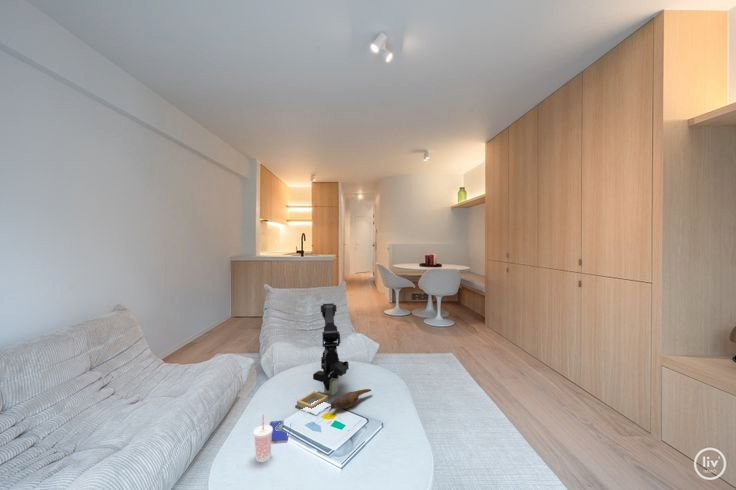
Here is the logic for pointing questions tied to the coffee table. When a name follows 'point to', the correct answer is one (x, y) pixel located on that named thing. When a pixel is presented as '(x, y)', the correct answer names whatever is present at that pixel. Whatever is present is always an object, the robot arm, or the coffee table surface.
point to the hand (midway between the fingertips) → (330, 388)
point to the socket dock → (313, 397)
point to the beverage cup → (263, 441)
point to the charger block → (332, 387)
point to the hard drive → (278, 434)
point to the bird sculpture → (347, 399)
